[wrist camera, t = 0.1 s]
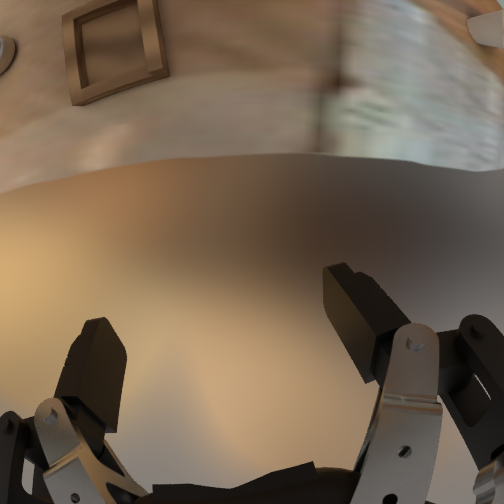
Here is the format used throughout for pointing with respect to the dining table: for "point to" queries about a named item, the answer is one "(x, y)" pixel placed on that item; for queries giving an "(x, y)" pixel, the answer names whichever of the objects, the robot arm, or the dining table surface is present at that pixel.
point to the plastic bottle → (6, 52)
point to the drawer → (112, 48)
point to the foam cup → (488, 29)
